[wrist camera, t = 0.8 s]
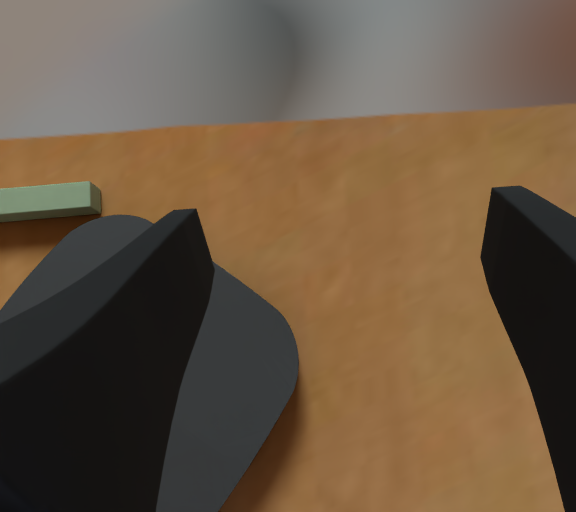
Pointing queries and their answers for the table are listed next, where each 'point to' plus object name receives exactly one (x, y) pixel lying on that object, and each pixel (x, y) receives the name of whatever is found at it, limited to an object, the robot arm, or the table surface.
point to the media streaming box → (194, 368)
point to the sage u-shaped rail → (49, 201)
